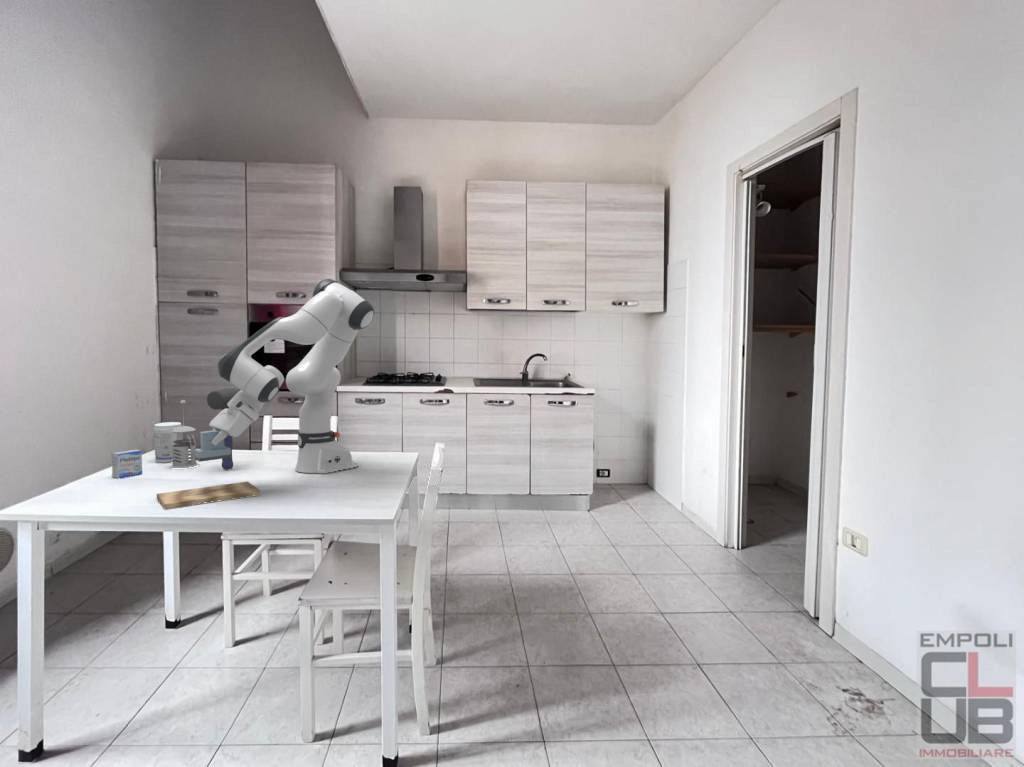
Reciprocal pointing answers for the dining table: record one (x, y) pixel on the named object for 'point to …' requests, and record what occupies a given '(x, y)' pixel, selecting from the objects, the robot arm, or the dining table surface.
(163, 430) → the supplement tub
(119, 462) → the medicine box
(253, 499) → the dining table surface
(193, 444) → the french press
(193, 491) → the oak board
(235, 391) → the rubber mallet
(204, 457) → the block
